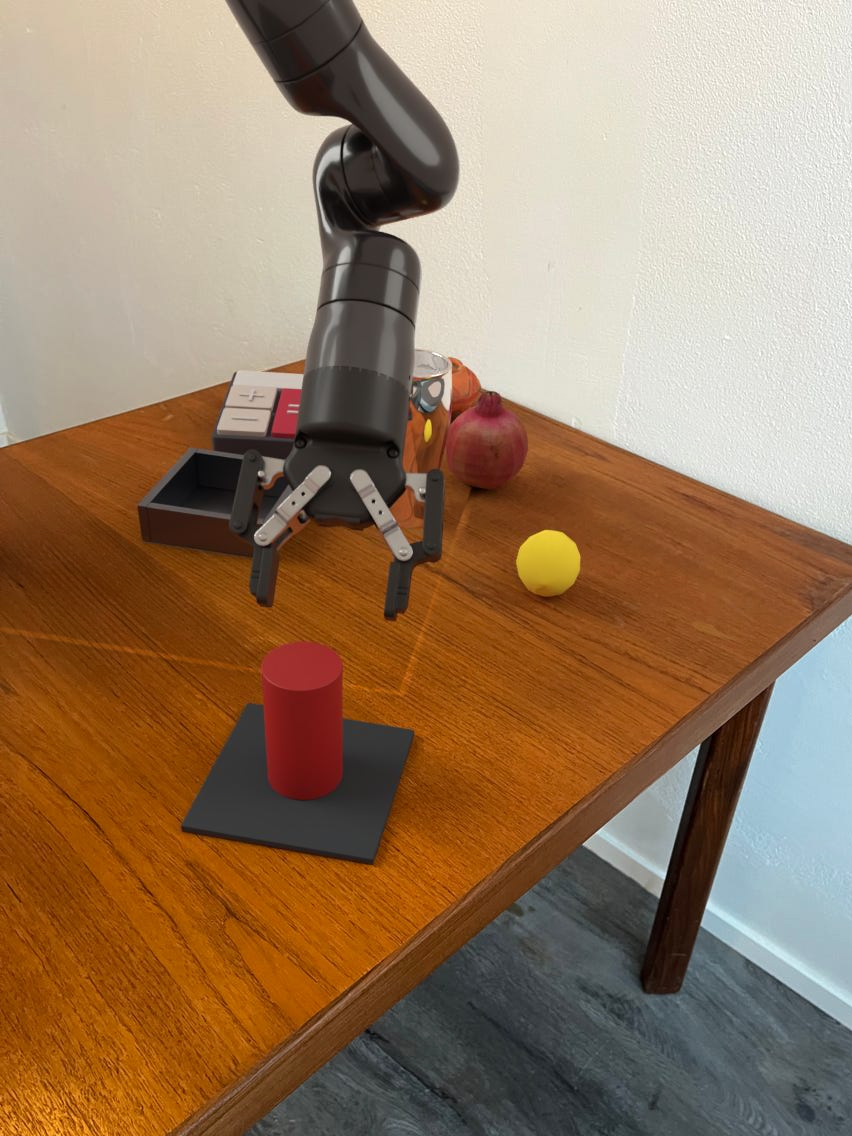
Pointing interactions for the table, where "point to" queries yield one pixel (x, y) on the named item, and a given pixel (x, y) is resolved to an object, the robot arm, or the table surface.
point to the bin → (202, 504)
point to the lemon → (548, 563)
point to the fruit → (486, 444)
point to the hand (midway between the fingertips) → (327, 612)
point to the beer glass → (425, 428)
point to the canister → (303, 719)
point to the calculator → (259, 414)
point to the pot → (463, 386)
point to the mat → (318, 826)
